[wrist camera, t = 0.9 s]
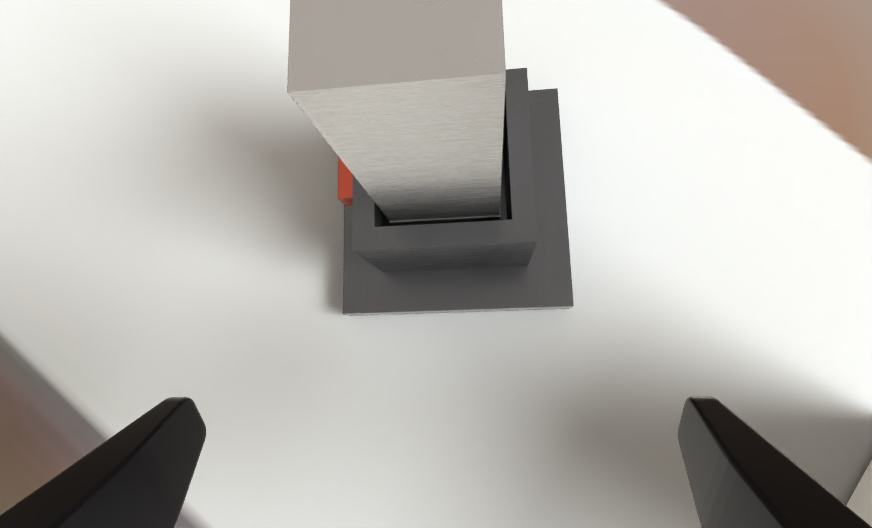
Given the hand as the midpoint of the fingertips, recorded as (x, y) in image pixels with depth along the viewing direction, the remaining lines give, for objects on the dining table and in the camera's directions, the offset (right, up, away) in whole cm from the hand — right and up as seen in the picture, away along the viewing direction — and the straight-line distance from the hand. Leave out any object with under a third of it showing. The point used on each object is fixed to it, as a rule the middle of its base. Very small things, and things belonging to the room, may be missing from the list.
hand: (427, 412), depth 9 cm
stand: (+1, +5, +14) cm, 15 cm away
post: (+1, +6, +13) cm, 14 cm away
